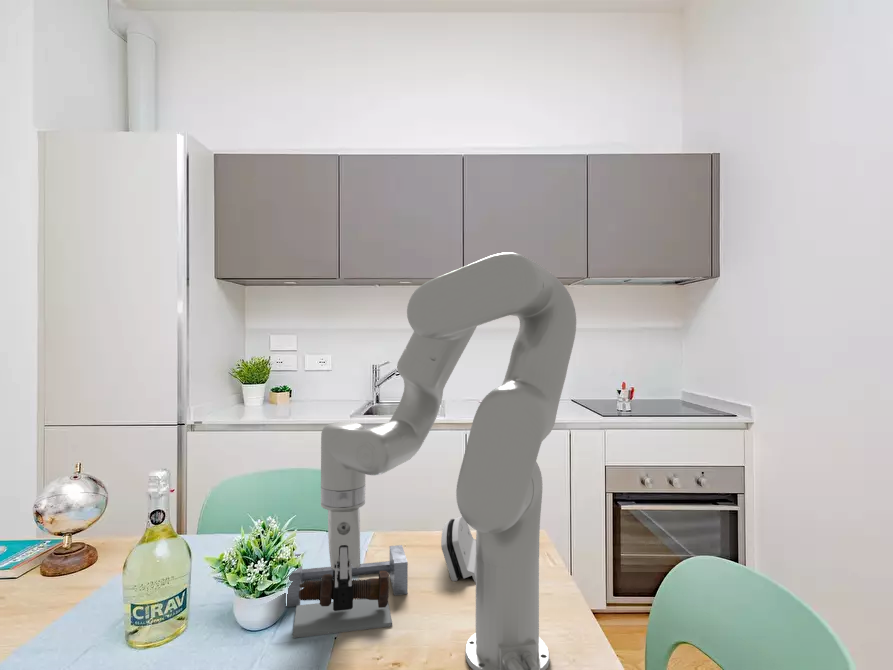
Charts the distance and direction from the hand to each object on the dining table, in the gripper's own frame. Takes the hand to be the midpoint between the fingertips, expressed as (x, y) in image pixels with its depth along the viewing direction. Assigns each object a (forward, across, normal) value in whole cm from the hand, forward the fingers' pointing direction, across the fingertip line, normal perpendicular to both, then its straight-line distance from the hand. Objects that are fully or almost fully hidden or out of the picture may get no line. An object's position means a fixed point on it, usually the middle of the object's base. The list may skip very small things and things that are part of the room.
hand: (342, 599), depth 89 cm
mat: (+3, 0, 0) cm, 3 cm away
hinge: (+3, +16, -25) cm, 30 cm away
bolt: (+1, 0, 0) cm, 1 cm away
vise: (+3, +11, -1) cm, 12 cm away
